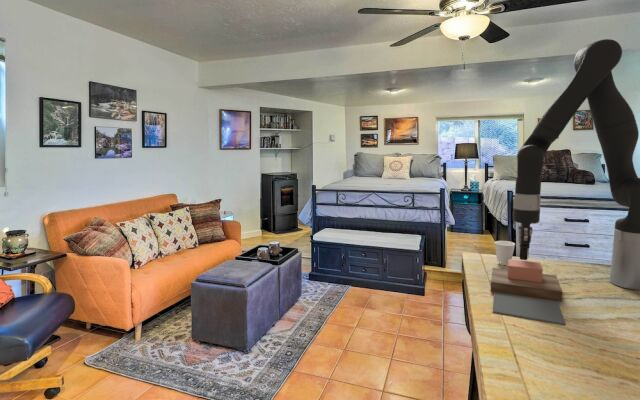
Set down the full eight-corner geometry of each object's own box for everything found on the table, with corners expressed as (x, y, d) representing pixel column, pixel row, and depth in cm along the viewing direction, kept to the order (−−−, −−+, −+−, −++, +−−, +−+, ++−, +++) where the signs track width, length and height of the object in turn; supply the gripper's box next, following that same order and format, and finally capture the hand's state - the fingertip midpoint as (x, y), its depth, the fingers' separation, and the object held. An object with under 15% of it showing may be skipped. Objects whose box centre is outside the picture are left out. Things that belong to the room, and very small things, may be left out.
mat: (494, 293, 106) (494, 291, 106) (557, 302, 98) (558, 301, 98) (492, 312, 93) (492, 311, 93) (565, 325, 86) (565, 323, 86)
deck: (492, 276, 119) (492, 267, 119) (555, 284, 111) (556, 275, 111) (490, 291, 107) (491, 281, 107) (561, 301, 99) (562, 291, 98)
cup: (489, 263, 132) (490, 242, 131) (501, 258, 138) (502, 238, 137) (509, 268, 127) (510, 246, 125) (520, 262, 133) (521, 241, 132)
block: (507, 270, 115) (508, 259, 115) (539, 274, 111) (540, 262, 111) (507, 278, 109) (508, 265, 109) (541, 282, 105) (542, 269, 105)
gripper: (542, 211, 106) (538, 266, 109) (538, 204, 118) (535, 255, 120) (513, 210, 110) (510, 263, 112) (513, 203, 121) (510, 252, 124)
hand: (523, 259), depth 116 cm, fingers closed
